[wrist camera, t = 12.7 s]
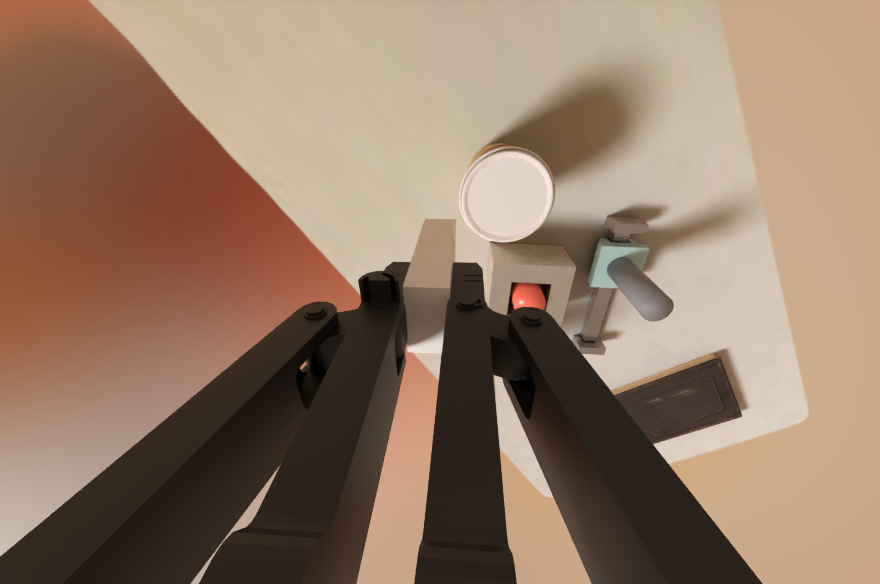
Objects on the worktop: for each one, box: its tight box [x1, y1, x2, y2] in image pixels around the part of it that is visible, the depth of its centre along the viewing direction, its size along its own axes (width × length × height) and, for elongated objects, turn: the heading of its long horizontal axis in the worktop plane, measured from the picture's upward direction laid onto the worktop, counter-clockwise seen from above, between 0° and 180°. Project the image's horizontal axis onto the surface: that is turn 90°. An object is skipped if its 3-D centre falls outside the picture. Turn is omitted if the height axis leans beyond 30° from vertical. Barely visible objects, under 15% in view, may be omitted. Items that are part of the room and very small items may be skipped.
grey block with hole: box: [484, 242, 576, 327], centre depth 47 cm, size 10×10×7 cm
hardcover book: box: [611, 353, 742, 444], centre depth 60 cm, size 16×23×2 cm
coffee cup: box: [459, 143, 555, 242], centre depth 38 cm, size 9×9×12 cm
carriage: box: [587, 238, 674, 321], centre depth 41 cm, size 6×6×13 cm
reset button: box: [510, 282, 546, 310], centre depth 45 cm, size 4×4×6 cm
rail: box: [572, 216, 648, 355], centre depth 48 cm, size 21×4×3 cm, turn 179°
